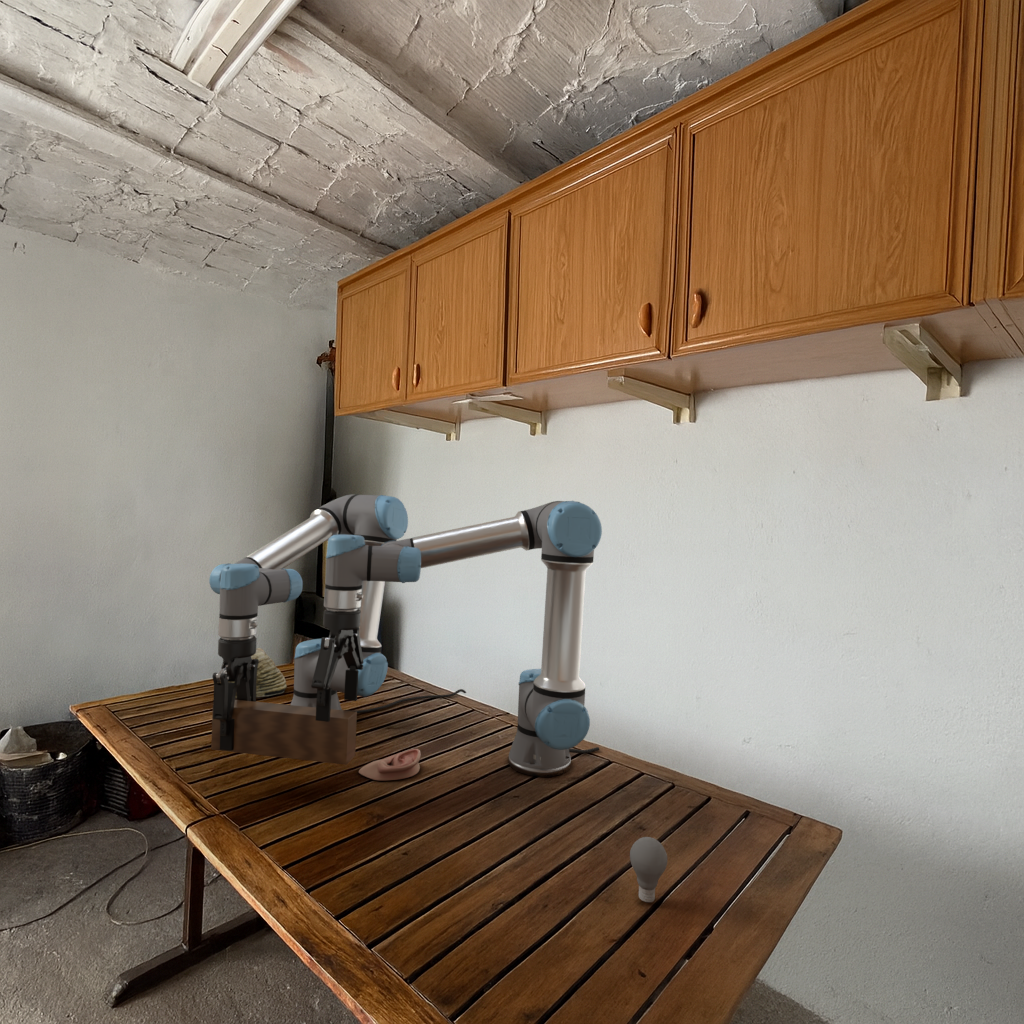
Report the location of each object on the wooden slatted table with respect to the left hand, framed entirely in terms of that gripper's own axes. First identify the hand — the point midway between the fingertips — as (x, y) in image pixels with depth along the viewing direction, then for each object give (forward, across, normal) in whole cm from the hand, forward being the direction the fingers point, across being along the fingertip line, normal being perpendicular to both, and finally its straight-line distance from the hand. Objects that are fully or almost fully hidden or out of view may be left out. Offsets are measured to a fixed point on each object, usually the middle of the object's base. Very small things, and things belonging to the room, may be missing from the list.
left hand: (234, 744), depth 136 cm
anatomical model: (+10, +16, -30) cm, 35 cm away
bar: (+1, 0, -11) cm, 11 cm away
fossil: (+10, +58, +30) cm, 66 cm away
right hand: (-9, 0, -23) cm, 25 cm away
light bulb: (+9, -20, -86) cm, 89 cm away
